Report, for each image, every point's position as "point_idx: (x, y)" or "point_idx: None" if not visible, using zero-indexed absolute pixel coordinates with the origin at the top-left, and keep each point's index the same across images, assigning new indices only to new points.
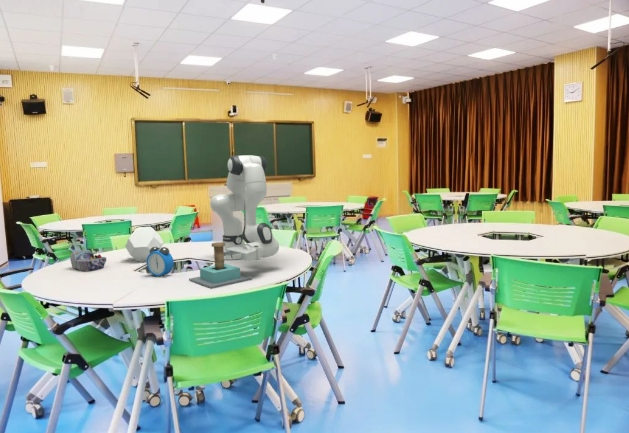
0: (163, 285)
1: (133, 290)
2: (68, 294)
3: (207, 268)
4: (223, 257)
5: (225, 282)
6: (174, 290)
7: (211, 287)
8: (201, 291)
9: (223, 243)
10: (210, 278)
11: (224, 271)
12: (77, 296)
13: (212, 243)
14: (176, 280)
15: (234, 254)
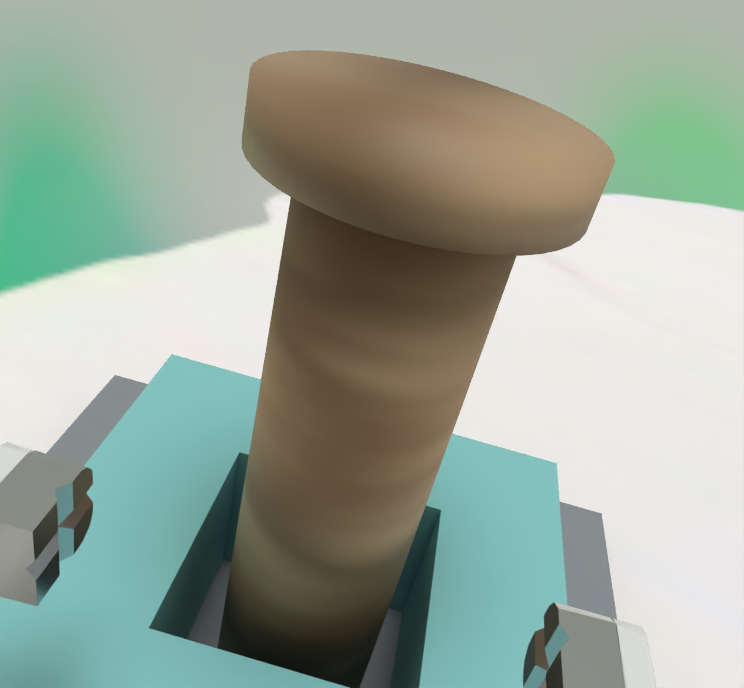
0: (591, 380)
1: (601, 289)
2: (733, 231)
3: (467, 488)
4: (265, 430)
5: None
6: None
7: (111, 385)
8: (152, 335)
9: (275, 84)
10: None
11: (91, 463)
12: (670, 220)
13: (541, 108)
14: (695, 501)
15: (16, 520)
